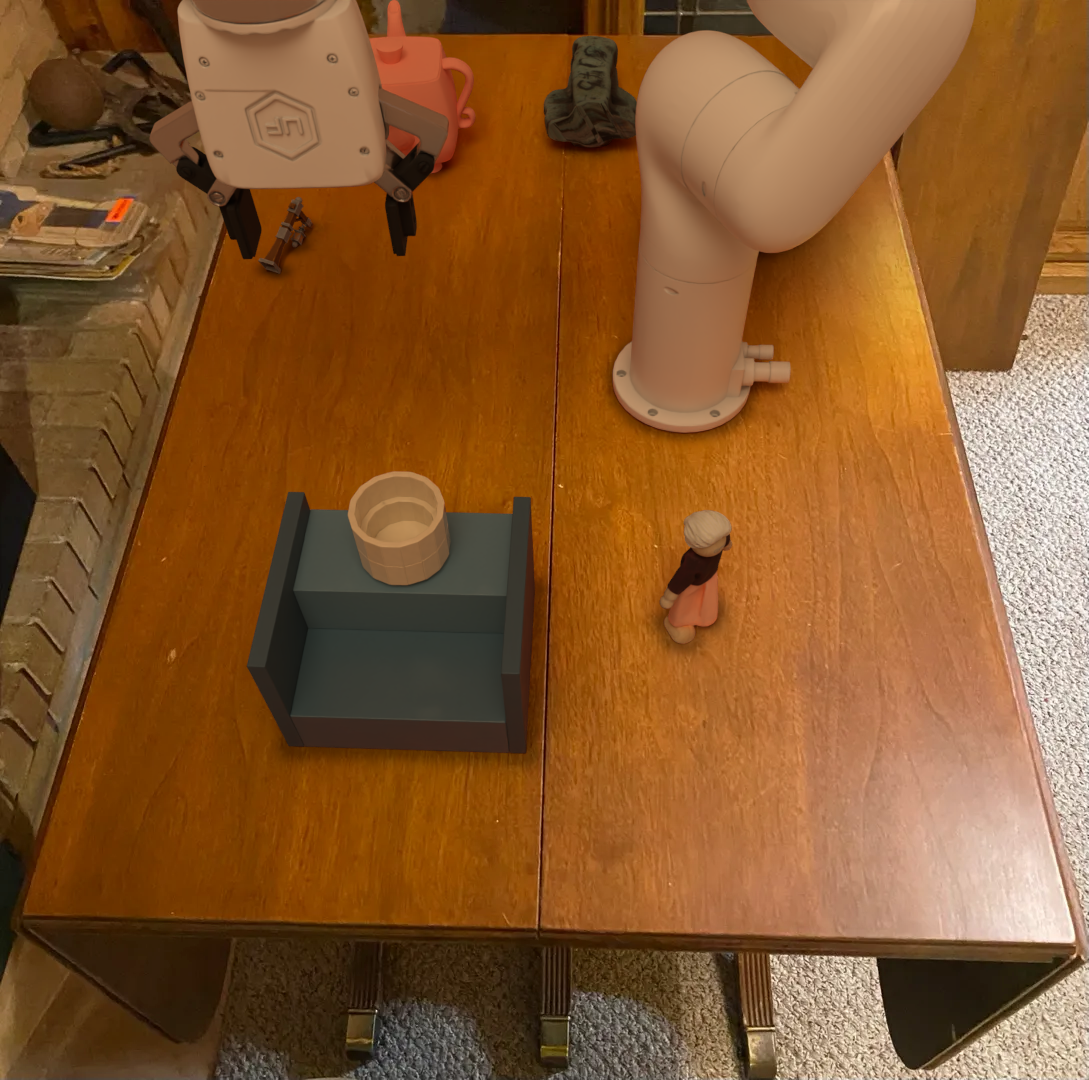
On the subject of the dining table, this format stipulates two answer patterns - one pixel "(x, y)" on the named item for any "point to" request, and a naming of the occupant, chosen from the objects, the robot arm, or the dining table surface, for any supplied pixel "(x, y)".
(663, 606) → the grandmother figurine
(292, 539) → the step shelf
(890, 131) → the robot arm
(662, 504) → the dining table surface
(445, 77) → the teapot
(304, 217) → the wooden post with brackets
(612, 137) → the sculpture
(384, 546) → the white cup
